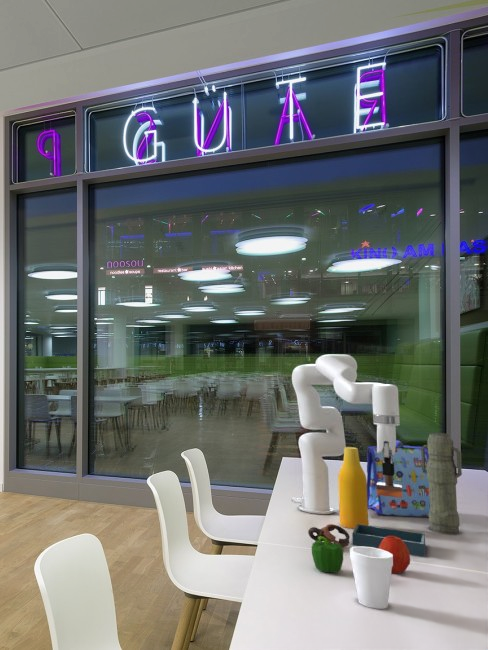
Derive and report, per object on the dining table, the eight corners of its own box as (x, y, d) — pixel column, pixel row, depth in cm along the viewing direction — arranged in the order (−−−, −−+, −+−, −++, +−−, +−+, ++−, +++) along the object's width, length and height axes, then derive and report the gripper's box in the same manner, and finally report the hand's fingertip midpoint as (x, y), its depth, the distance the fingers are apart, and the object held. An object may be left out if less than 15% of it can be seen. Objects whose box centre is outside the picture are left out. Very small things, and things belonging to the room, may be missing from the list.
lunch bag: (421, 509, 248) (418, 439, 250) (440, 518, 234) (437, 444, 236) (364, 507, 252) (361, 438, 253) (379, 515, 238) (376, 442, 240)
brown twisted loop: (339, 544, 204) (348, 526, 201) (345, 564, 196) (355, 546, 193) (302, 532, 207) (310, 515, 203) (306, 552, 199) (316, 534, 195)
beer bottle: (336, 522, 229) (333, 445, 231) (362, 523, 227) (359, 446, 229) (345, 529, 220) (342, 449, 222) (373, 530, 218) (369, 450, 220)
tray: (352, 545, 202) (352, 532, 202) (357, 535, 213) (356, 523, 213) (424, 556, 190) (424, 544, 190) (425, 546, 201) (425, 533, 201)
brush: (376, 495, 204) (375, 458, 205) (377, 492, 209) (376, 456, 209) (402, 498, 200) (400, 460, 201) (402, 495, 204) (401, 458, 205)
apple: (417, 577, 173) (415, 539, 173) (385, 575, 174) (384, 538, 175) (402, 567, 181) (401, 531, 181) (372, 565, 182) (371, 529, 183)
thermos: (463, 536, 211) (458, 436, 214) (422, 529, 220) (418, 433, 222) (466, 531, 218) (462, 434, 220) (427, 524, 226) (422, 431, 228)
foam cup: (353, 593, 161) (351, 544, 162) (394, 601, 156) (392, 550, 157) (350, 605, 153) (348, 553, 154) (394, 614, 148) (392, 560, 149)
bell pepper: (338, 566, 181) (337, 533, 182) (348, 576, 173) (346, 541, 174) (307, 564, 183) (306, 531, 184) (316, 574, 175) (315, 539, 176)
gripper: (375, 417, 215) (377, 469, 213) (371, 421, 202) (373, 477, 201) (400, 419, 210) (402, 472, 209) (398, 423, 197) (401, 479, 196)
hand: (388, 474), depth 205 cm, fingers closed on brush, 2 cm apart
